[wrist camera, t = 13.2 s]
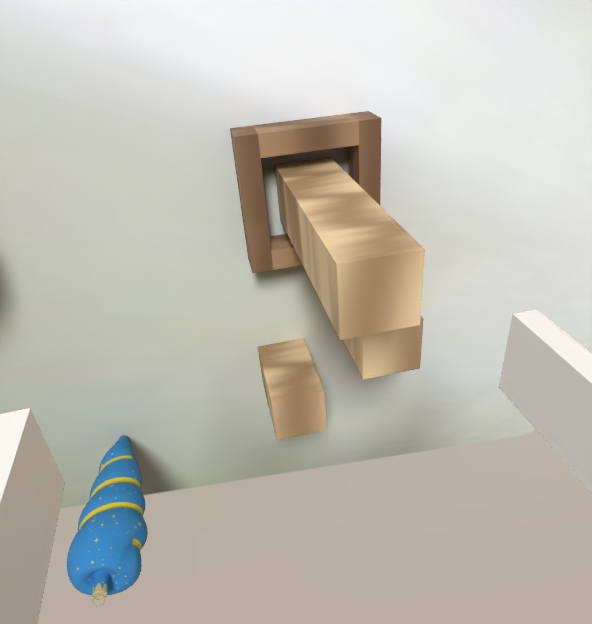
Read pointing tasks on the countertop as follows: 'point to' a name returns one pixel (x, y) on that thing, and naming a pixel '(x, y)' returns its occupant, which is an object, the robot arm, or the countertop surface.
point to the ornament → (110, 528)
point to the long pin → (350, 249)
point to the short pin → (292, 389)
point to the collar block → (290, 140)
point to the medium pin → (387, 351)
